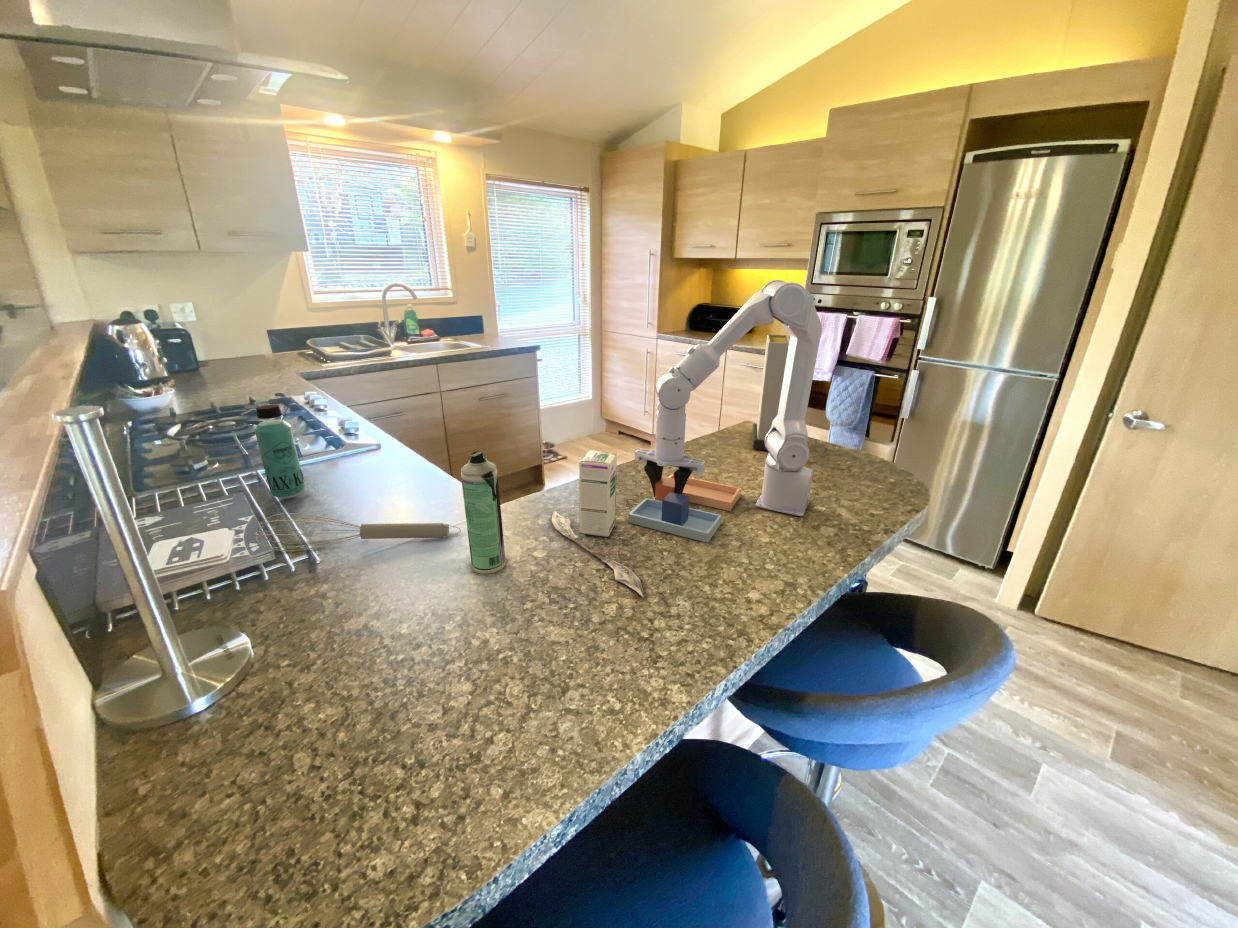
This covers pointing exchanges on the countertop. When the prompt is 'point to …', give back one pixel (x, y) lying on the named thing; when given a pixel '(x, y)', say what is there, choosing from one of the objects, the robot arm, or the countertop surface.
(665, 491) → the terracotta block
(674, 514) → the blue block
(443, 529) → the kitchen whisk
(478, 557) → the spray can
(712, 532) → the blue tray
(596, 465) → the syrup box
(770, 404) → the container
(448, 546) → the countertop surface
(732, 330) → the robot arm
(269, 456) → the beverage bottle
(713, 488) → the peach tray
